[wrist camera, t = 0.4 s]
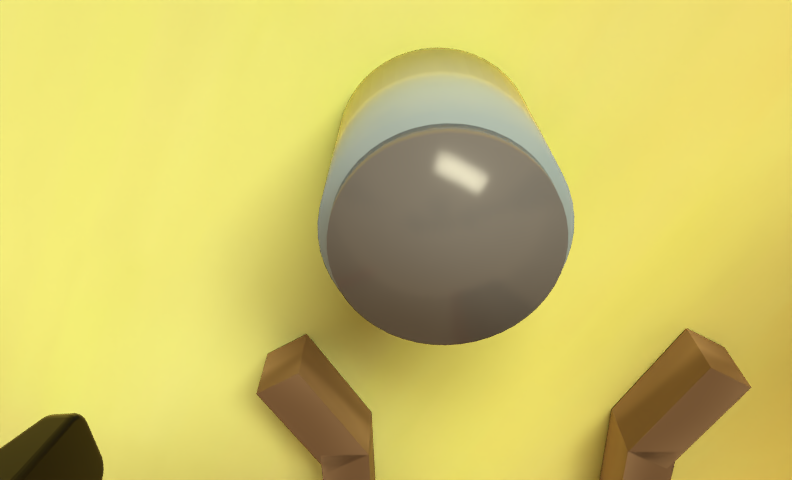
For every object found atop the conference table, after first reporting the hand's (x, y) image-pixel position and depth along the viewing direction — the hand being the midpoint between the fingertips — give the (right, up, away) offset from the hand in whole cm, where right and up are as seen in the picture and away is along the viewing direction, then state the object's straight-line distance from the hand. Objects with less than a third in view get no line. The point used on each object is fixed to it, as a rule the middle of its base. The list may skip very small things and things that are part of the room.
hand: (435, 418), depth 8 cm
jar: (+1, +5, +11) cm, 12 cm away
